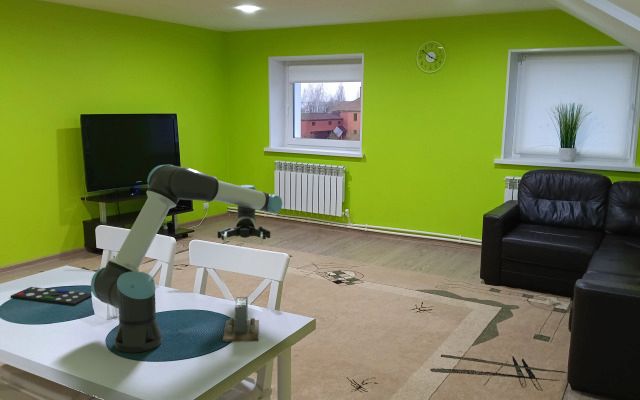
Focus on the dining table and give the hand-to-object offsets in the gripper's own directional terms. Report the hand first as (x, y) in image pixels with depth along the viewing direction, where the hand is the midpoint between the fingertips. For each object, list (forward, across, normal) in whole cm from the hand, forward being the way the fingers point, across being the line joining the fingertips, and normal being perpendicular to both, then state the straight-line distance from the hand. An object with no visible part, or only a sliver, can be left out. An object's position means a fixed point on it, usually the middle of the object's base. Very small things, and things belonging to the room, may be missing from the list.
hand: (243, 239), depth 206 cm
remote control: (-24, +79, -31) cm, 88 cm away
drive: (+15, 0, -29) cm, 32 cm away
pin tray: (+15, 0, -30) cm, 33 cm away
